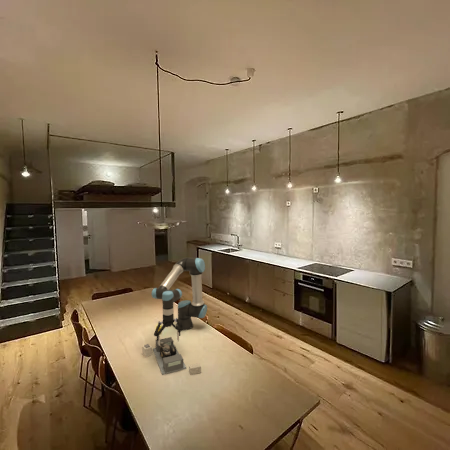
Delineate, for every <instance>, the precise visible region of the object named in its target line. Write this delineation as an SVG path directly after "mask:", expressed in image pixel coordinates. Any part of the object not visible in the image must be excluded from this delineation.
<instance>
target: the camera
mask: <svg viewBox="0 0 450 450" xmlns="http://www.w3.org/2000/svg"><path fill="white" fill-rule="evenodd" d="M176 349H177V348H176V345H175V346H169V345H168V344H164V343H163V342H161V343H160V355H161V357H162V358H165V357H170V356H174V355H176V353H177V351H178V350H177V351H176Z"/></svg>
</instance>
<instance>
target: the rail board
mask: <svg viewBox="0 0 450 450" xmlns="http://www.w3.org/2000/svg"><path fill="white" fill-rule="evenodd" d="M161 342H163V343H164V344H168V345H169V346H175V347H176V345H175V344H174V340H173V338H172V336H170V337H164V338H160V343H161ZM176 351H177V353H176V355H174V356H170V357H165V358H162V357H161V355H160V346H159V345H158V341H157V339H155V347H152V352H153V353H154V356H155V359H156V361H157V364H158V367H159V369H160V373H161V375H162V376H163V375H167V374H170V373H174V372H178V371H183V370H187V366H186V364H185V361H184V358H183V356H182V354H181V353H179V351H178V348H176Z"/></svg>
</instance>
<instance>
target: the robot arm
mask: <svg viewBox="0 0 450 450" xmlns="http://www.w3.org/2000/svg"><path fill="white" fill-rule="evenodd" d="M205 270H206V263H205V260H204V259H203V258H201V257H200V258H199V257H183V258H180V259H179V260H178V261H176V262H175V264H173V266H172V269H171V271H170V272H169V273H168V274H167V276H166V277H165V278H164V280H163V281H162V282H161V284H160V285H159V286H158V288H157V287H153V289H152V291H151V297H152V298H153V299H156V300H161V301H162V303H161V304H162V321H160V320H158V322H157V326H156V328H155V330H154V333H153V337H156V340H157V341H158V345H159V346H160V339H161V336H160V335H161V334H162V332H163V331H164V330H165V329H166V328H170V327H173V328H174V329H175V330H176V337H177V338H176V339H177V342H180V336H181V332H182V331H187V330H190V329H192V328H193V327H194V324H193V320H192V318H196V319H203V318H205V317H206V315H207V311H208V305H207V304H205V301H204V300H203V286H202V285H203V282H202V275H203V274H204V272H205ZM184 272H189V275H190V276H191V290H192V294H191V295H192V301H191V300H189V299H188V300H187V299H186V300H181V301H179V300H180V299H181V298H182V296H183V292H182V290H181V289H180V288H175V289H171V287H172V286H173V285H174V284H175V282H176V281H177V279H178V278H179V276H180V275H181V274H182V273H184ZM177 301H179V302H178V304H177V317H176V318H174V317H175V316H174V315H175V314H174V303H175V302H177ZM174 323H175V324H174Z"/></svg>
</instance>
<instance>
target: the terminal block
mask: <svg viewBox="0 0 450 450" xmlns="http://www.w3.org/2000/svg"><path fill="white" fill-rule="evenodd" d="M188 372H189V375H190V376H194V375H197V374H202V365H201V363H193V364H189V365H188Z"/></svg>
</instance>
